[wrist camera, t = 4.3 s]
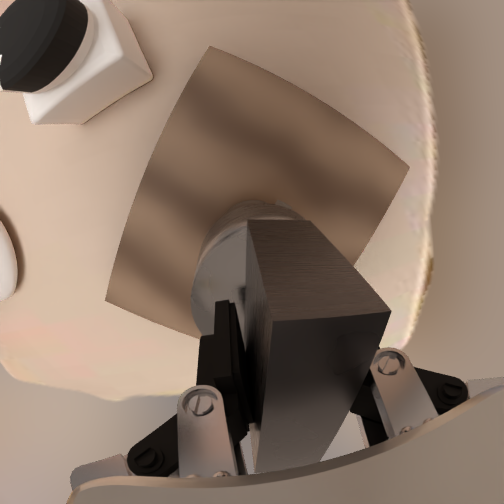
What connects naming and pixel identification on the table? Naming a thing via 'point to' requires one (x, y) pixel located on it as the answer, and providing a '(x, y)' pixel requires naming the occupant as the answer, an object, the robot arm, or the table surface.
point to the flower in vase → (7, 265)
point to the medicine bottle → (68, 58)
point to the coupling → (290, 326)
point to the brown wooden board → (244, 180)
